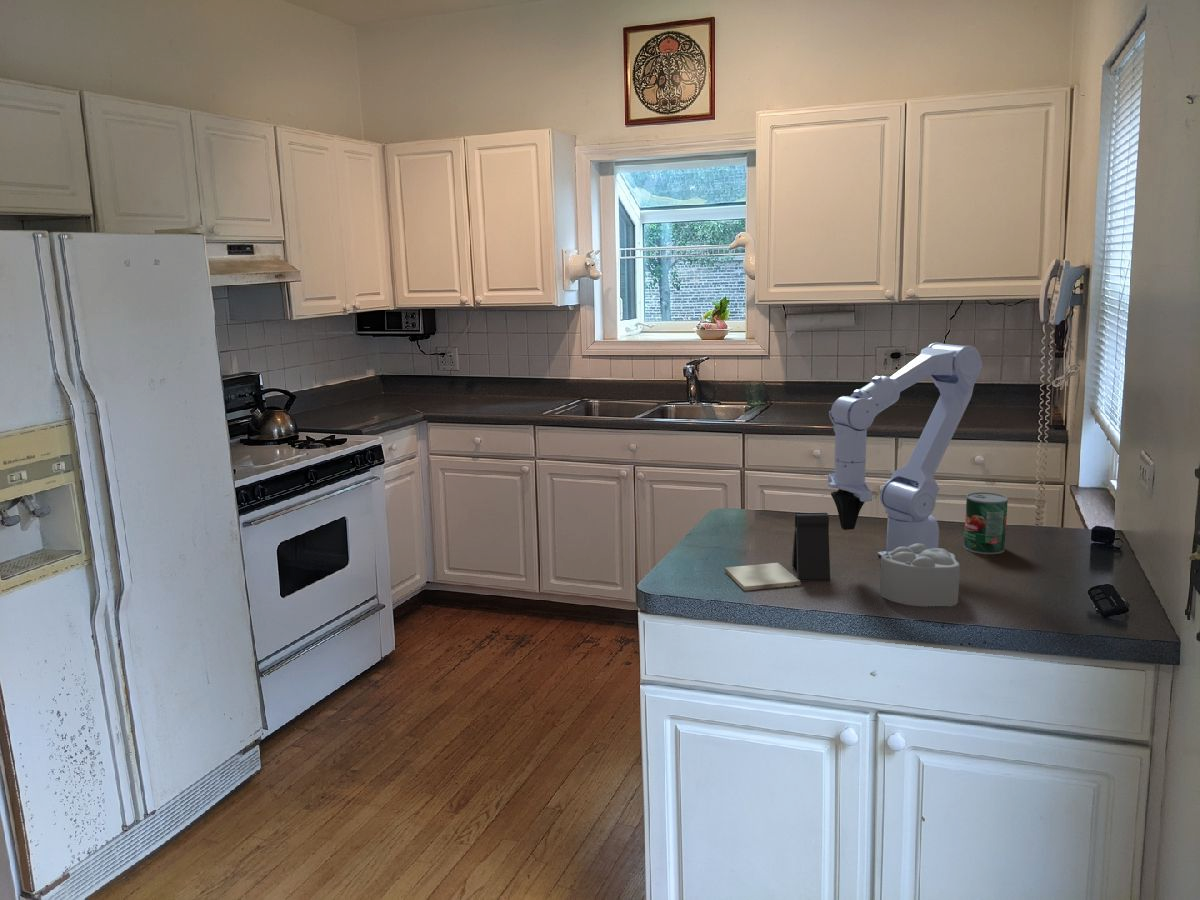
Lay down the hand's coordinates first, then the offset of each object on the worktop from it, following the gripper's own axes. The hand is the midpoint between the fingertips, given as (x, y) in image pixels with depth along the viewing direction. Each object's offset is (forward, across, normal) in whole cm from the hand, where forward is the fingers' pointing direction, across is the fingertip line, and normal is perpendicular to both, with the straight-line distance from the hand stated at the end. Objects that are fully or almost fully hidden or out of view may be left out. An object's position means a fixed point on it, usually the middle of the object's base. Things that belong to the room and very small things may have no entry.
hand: (847, 528), depth 180 cm
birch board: (+8, 0, -17) cm, 19 cm away
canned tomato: (+9, -5, +33) cm, 35 cm away
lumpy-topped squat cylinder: (+9, +16, +6) cm, 19 cm away
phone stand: (+9, 0, -7) cm, 11 cm away
